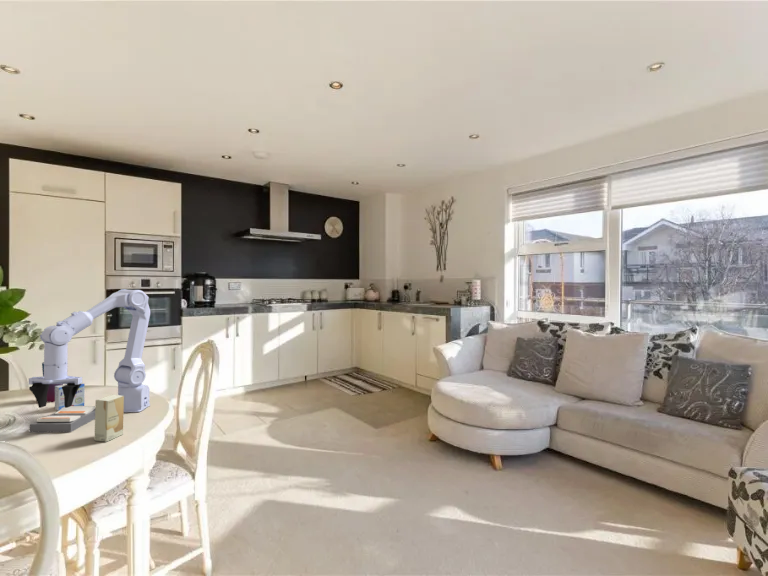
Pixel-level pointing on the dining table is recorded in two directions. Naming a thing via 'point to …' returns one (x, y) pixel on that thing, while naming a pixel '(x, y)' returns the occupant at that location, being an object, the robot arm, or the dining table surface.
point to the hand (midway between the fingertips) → (55, 406)
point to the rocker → (58, 418)
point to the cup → (50, 389)
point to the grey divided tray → (61, 424)
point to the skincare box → (109, 417)
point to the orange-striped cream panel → (75, 410)
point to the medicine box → (77, 399)
